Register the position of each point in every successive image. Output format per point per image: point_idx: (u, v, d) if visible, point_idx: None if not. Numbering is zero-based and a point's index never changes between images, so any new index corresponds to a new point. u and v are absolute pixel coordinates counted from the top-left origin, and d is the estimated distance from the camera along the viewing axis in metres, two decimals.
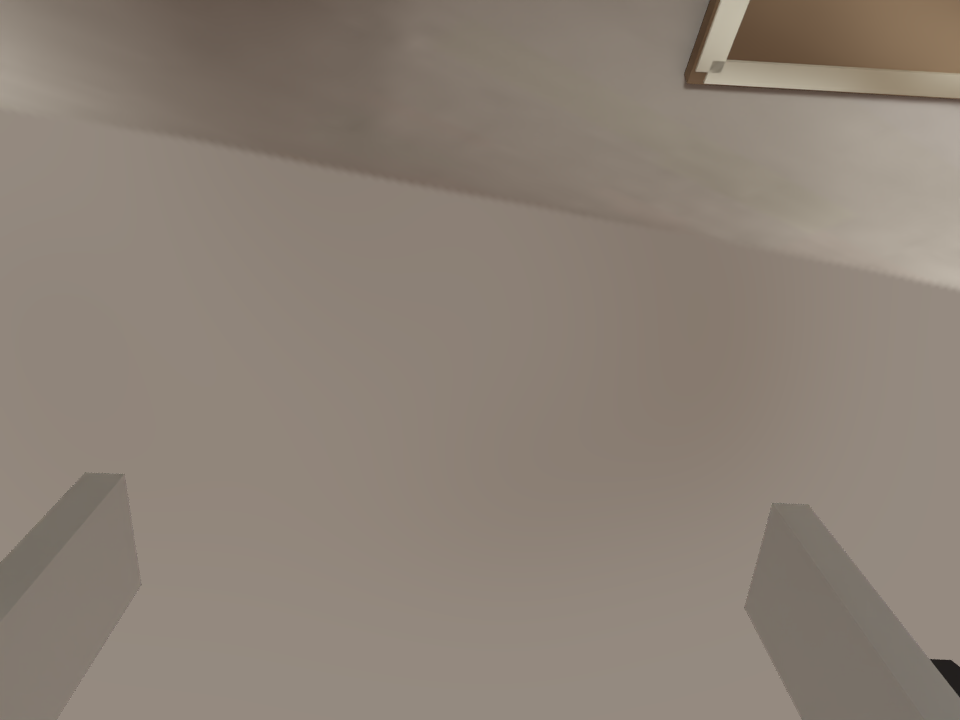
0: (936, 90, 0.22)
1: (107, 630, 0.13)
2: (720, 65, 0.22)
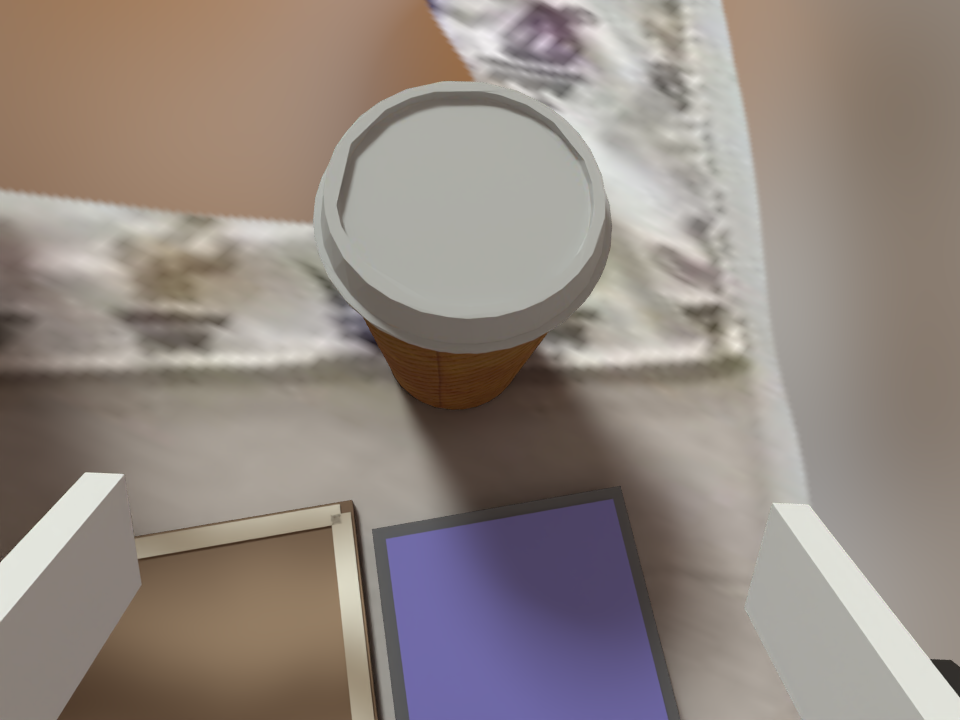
0: None
1: (107, 630, 0.13)
2: None
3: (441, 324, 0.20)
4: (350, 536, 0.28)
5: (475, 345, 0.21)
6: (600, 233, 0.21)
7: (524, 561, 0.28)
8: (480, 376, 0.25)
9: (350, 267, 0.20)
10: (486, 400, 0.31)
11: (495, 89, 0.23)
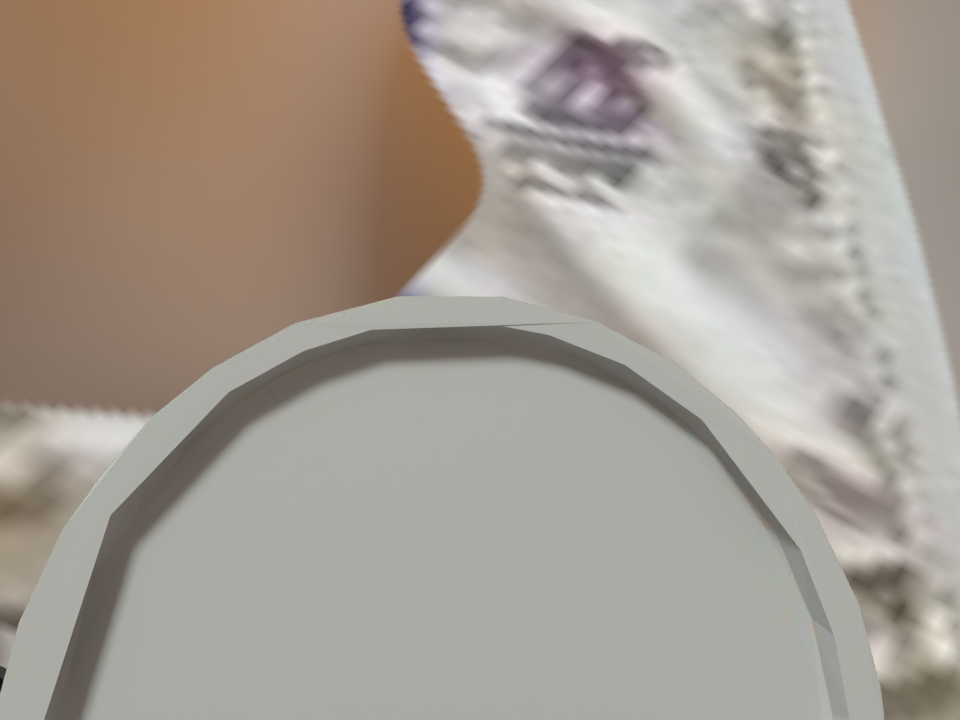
0: None
1: None
2: None
3: None
4: None
5: None
6: None
7: None
8: None
9: None
10: None
11: (537, 317, 0.08)
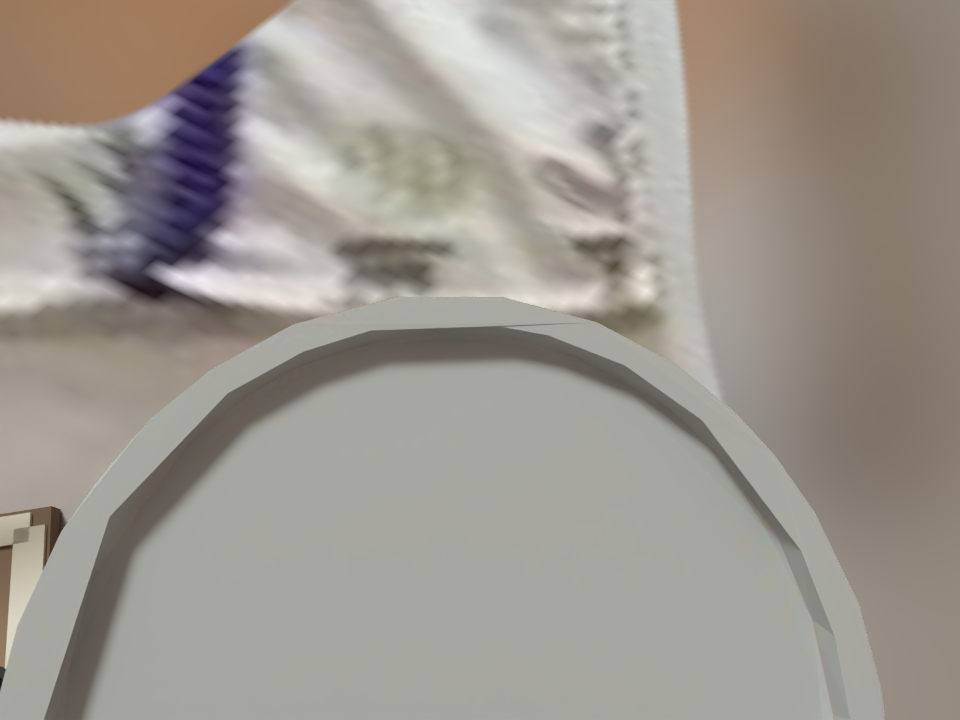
0: None
1: None
2: None
3: None
4: (39, 560, 0.19)
5: None
6: None
7: None
8: None
9: None
10: None
11: (537, 318, 0.08)
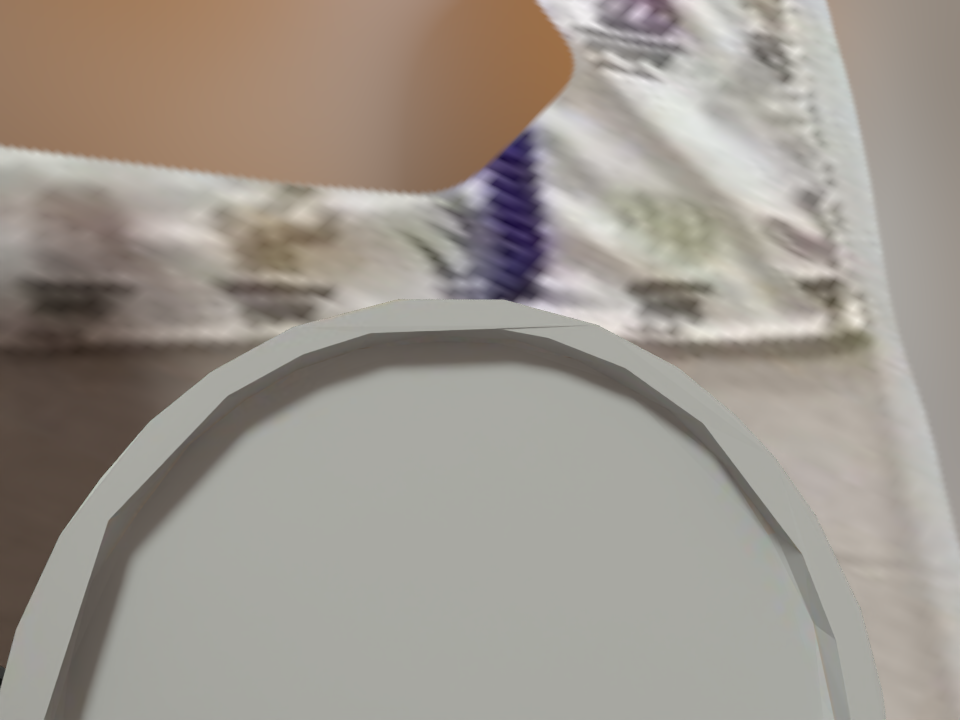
0: None
1: None
2: None
3: None
4: None
5: None
6: None
7: None
8: None
9: None
10: None
11: (537, 320, 0.08)
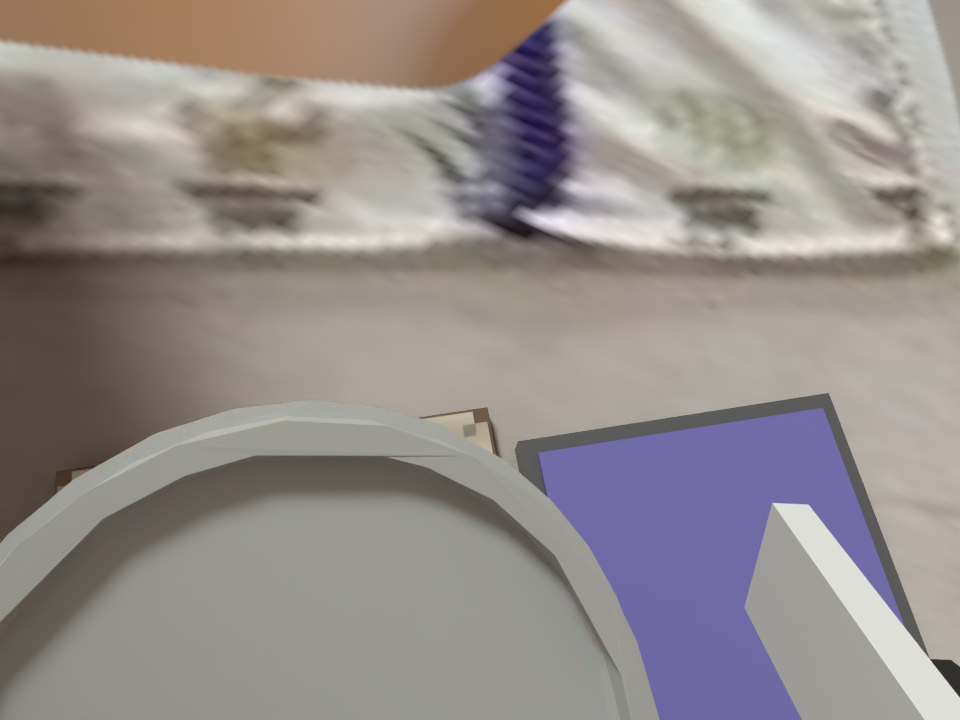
0: None
1: None
2: None
3: None
4: (489, 451, 0.22)
5: None
6: None
7: (718, 483, 0.21)
8: None
9: None
10: None
11: (418, 448, 0.09)
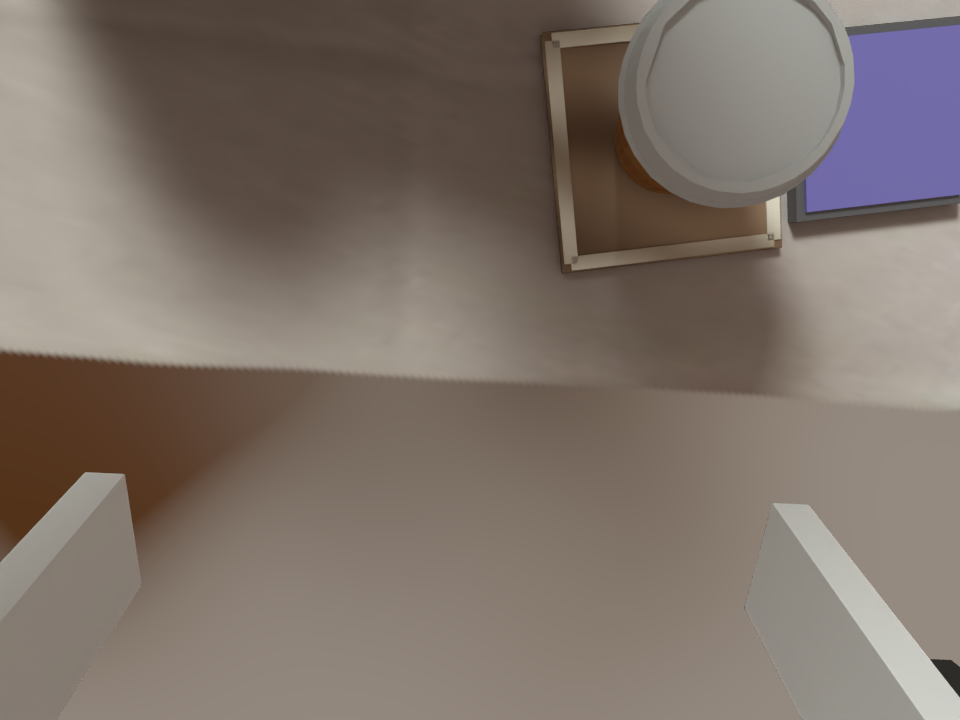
0: (697, 251, 0.41)
1: (107, 630, 0.13)
2: (576, 259, 0.41)
3: (700, 189, 0.29)
4: None
5: (717, 203, 0.29)
6: (836, 136, 0.28)
7: (893, 65, 0.39)
8: None
9: (647, 136, 0.28)
10: None
11: None
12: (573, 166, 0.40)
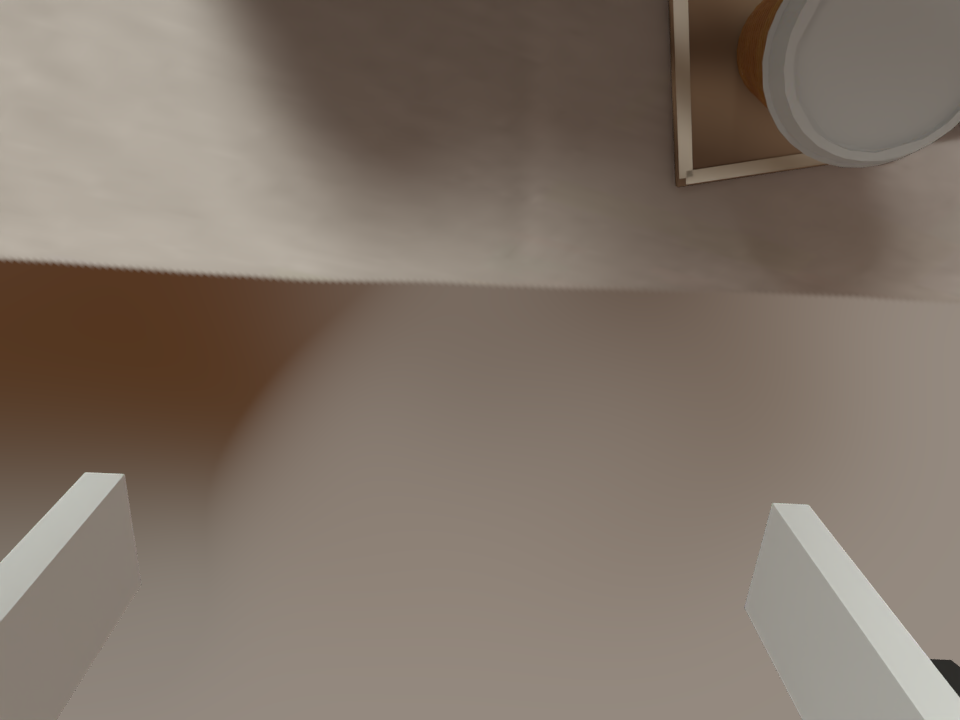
0: (811, 161, 0.42)
1: (107, 630, 0.13)
2: (691, 173, 0.42)
3: (825, 153, 0.31)
4: None
5: (837, 162, 0.32)
6: None
7: None
8: None
9: (786, 100, 0.30)
10: None
11: None
12: (693, 80, 0.40)
